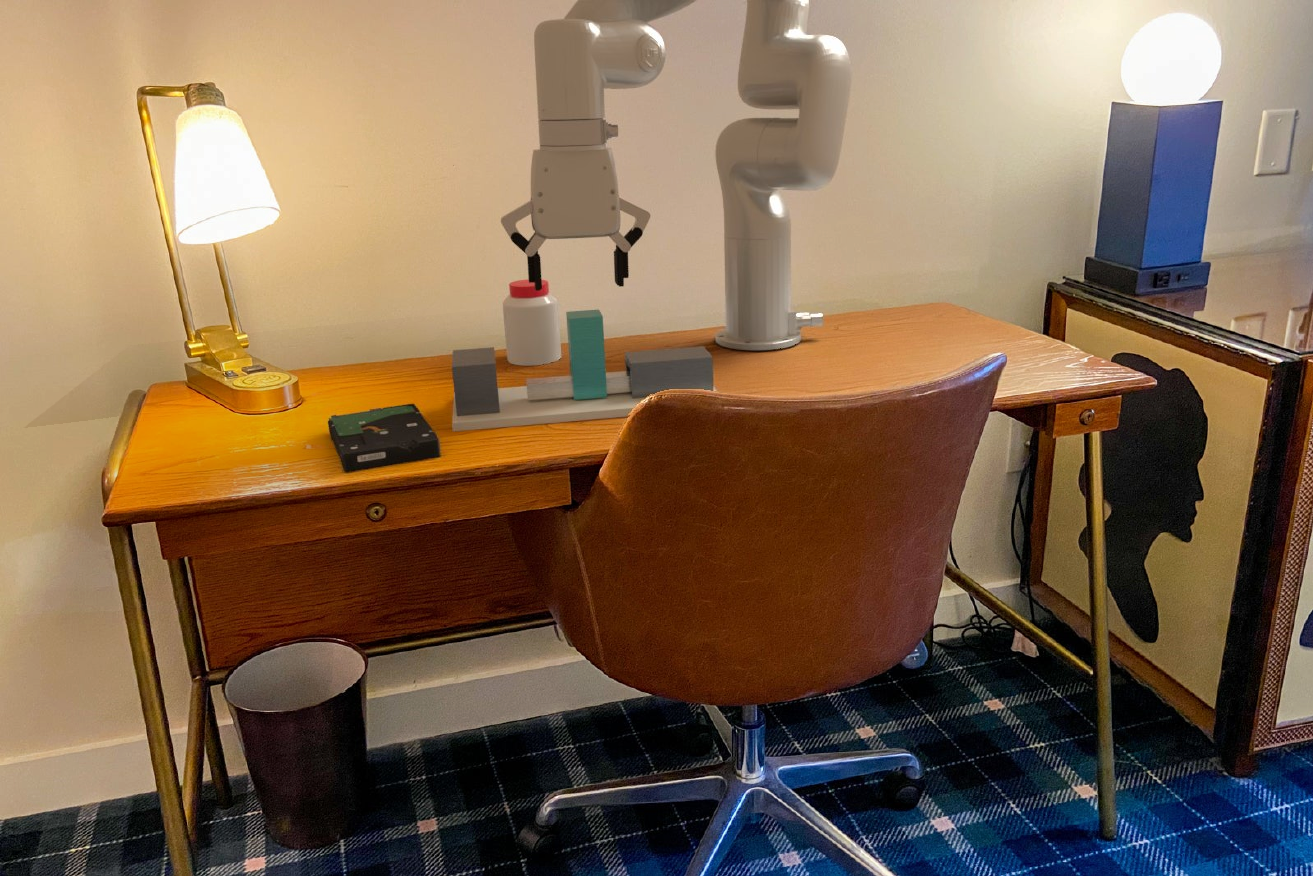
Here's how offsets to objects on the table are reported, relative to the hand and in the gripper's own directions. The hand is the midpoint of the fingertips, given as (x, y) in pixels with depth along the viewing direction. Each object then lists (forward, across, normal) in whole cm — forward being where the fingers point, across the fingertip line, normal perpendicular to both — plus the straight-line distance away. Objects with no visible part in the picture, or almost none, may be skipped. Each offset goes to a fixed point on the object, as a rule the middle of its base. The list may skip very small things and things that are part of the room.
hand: (579, 286), depth 126 cm
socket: (+14, +13, -1) cm, 19 cm away
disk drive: (+16, +24, +8) cm, 30 cm away
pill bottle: (+14, +5, -25) cm, 29 cm away
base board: (+15, 0, -1) cm, 15 cm away
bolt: (+13, -4, -1) cm, 14 cm away
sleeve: (+14, -11, -1) cm, 18 cm away
